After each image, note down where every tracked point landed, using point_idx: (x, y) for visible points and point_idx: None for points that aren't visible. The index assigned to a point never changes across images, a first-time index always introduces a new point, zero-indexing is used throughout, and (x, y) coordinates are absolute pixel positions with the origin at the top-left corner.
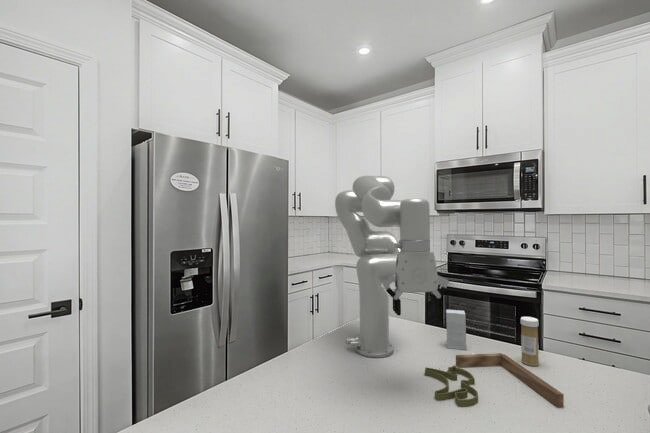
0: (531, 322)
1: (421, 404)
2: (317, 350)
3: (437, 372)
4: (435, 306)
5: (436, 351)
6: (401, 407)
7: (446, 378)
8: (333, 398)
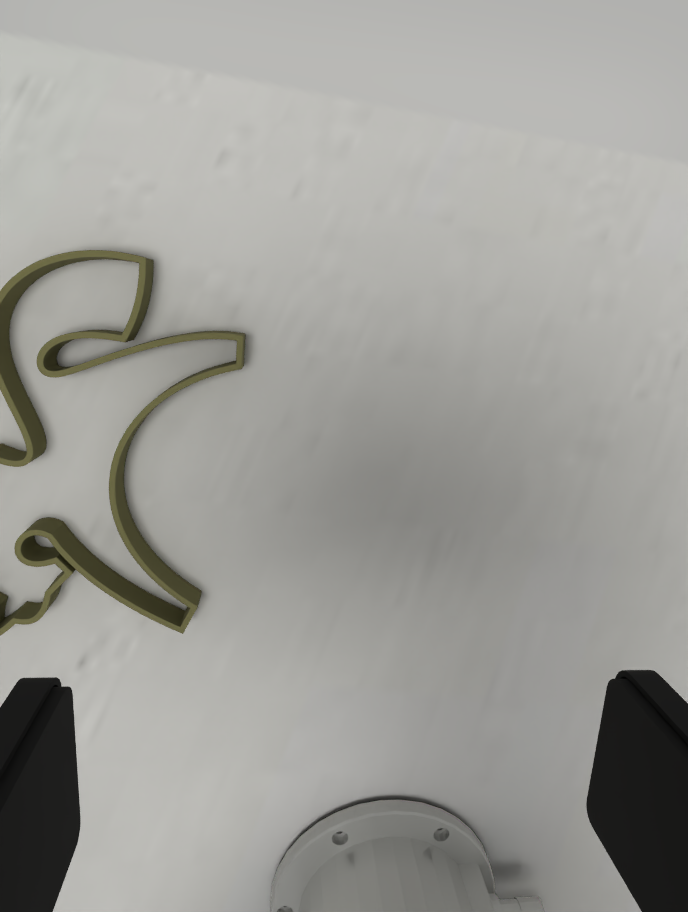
0: None
1: (342, 310)
2: None
3: (125, 589)
4: (15, 764)
5: None
6: (454, 299)
7: (109, 494)
8: None
